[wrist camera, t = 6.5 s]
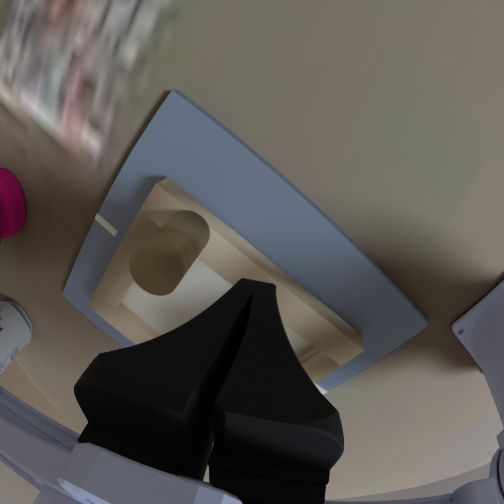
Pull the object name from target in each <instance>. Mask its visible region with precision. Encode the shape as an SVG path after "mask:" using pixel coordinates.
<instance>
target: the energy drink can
mask: <svg viewBox="0 0 504 504" xmlns="http://www.w3.org/2000/svg"><path fill="white" fill-rule="evenodd" d="M32 332H33V327H32V324H31V321H30V319H29V318H28V316H27V314H26V313H25V312H24V310H23V309H22V308H21V307H20V306H19V305H18V304H16V303H15V302H13V301H8V302H6V301H1V302H0V375H1V373H2V372H3V371H4V370H5V369H6V368H7V366H8V365H9V364H10V363H11V362H12V361H13V360H14V358H15V357H16V356H17V355H18V354H19V353H20V352H21V351H22V350H23V348H24V347H25V346H26V345H27V344H28V343H29V342H30V341H31V333H32Z"/></svg>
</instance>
